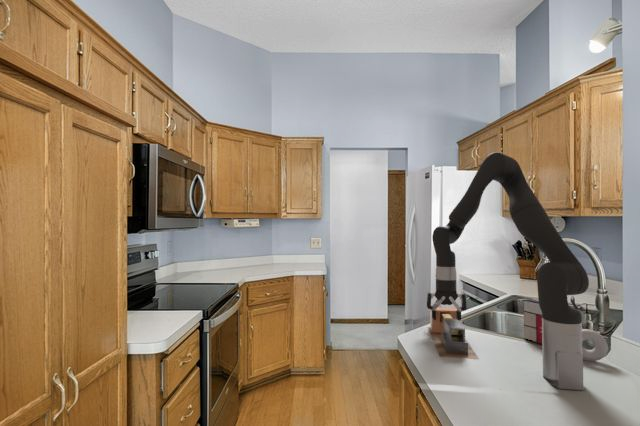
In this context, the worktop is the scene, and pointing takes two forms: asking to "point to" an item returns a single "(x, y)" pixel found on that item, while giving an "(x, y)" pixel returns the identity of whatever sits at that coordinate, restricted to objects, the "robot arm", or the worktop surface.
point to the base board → (437, 341)
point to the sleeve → (454, 337)
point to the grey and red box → (532, 321)
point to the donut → (599, 342)
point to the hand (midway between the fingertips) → (446, 320)
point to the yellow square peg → (447, 316)
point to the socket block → (437, 324)
